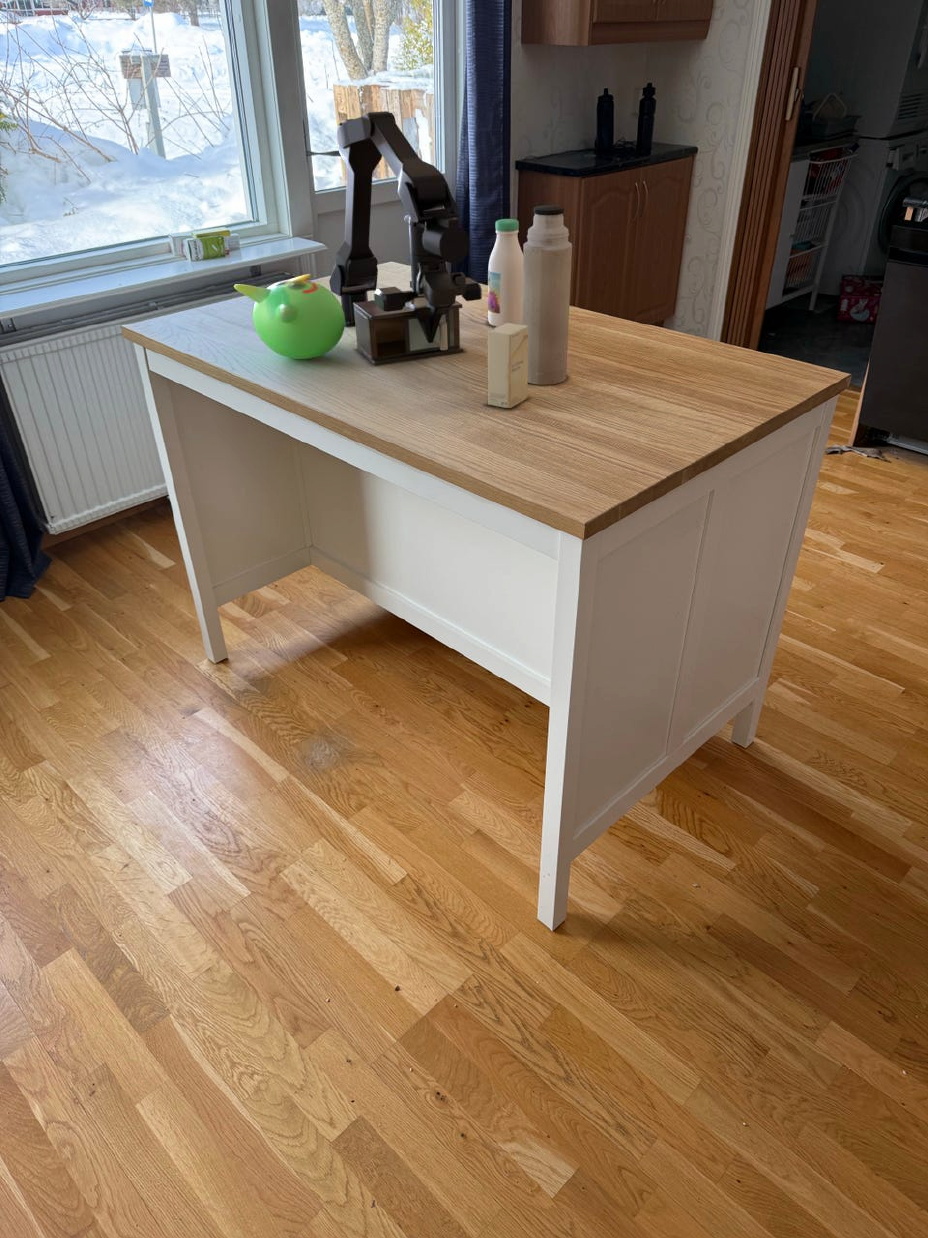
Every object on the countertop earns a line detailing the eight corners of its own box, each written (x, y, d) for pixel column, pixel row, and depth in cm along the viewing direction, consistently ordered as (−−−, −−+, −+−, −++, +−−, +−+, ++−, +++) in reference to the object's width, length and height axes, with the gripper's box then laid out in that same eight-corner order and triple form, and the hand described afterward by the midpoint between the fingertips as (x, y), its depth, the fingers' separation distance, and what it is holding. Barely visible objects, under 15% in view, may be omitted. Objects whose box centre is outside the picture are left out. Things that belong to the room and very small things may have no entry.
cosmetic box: (510, 409, 146) (510, 334, 140) (486, 405, 148) (486, 331, 142) (528, 397, 151) (529, 324, 144) (505, 393, 153) (505, 321, 146)
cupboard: (357, 350, 175) (353, 302, 170) (442, 337, 180) (441, 291, 175) (374, 365, 167) (371, 316, 162) (463, 352, 172) (462, 304, 167)
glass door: (405, 353, 169) (403, 315, 165) (449, 347, 172) (448, 309, 168) (415, 362, 165) (414, 323, 161) (460, 355, 168) (459, 317, 164)
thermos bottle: (528, 368, 164) (531, 201, 148) (570, 372, 161) (578, 203, 146) (516, 382, 157) (518, 209, 142) (560, 386, 155) (567, 211, 139)
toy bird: (365, 355, 172) (358, 275, 164) (295, 377, 162) (284, 293, 154) (306, 337, 182) (297, 261, 174) (237, 357, 172) (224, 278, 164)
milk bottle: (525, 317, 191) (527, 216, 180) (524, 328, 185) (525, 224, 174) (489, 317, 192) (489, 216, 181) (486, 327, 185) (486, 224, 174)
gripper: (391, 267, 147) (397, 362, 155) (494, 256, 153) (494, 347, 161) (370, 254, 155) (376, 344, 164) (468, 243, 161) (469, 331, 170)
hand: (430, 342), depth 165 cm, fingers closed
